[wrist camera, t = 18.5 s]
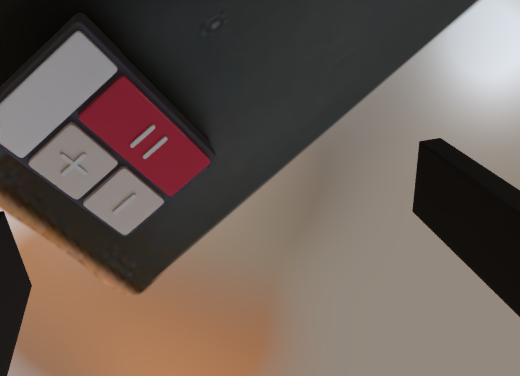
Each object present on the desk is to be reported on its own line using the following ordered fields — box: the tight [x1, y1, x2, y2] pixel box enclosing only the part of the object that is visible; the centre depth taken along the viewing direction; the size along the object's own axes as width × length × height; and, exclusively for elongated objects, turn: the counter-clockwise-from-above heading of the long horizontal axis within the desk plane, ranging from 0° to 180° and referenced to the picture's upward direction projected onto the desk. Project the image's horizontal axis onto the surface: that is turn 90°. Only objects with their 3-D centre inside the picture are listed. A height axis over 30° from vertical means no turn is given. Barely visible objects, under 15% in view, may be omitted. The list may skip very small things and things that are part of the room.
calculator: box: [0, 13, 217, 237], centre depth 39 cm, size 11×4×15 cm
